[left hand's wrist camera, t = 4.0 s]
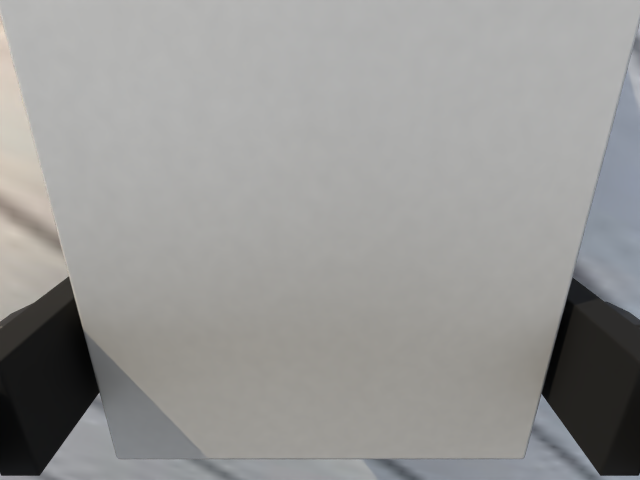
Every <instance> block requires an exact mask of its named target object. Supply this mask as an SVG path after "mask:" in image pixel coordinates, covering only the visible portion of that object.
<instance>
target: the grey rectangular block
mask: <svg viewBox="0 0 640 480" xmlns="http://www.w3.org/2000/svg"><path fill="white" fill-rule="evenodd" d="M0 16H1V19H2V23H3V27H4V31H5V35H6V38H7V42H8V46H9V50H10V54H11V57H12V61H13V65H14V69H15V73H16V76H17V80H18V84H19V88H20V92H21V95H22V99H23V103H24V107H25V111H26V114H27V118H28V122H29V126H30V130H31V133H32V137H33V141H34V145H35V149H36V152H37V156H38V160H39V164H40V168H41V171H42V175H43V179H44V183H45V187H46V190H47V194H48V198H49V202H50V206H51V210H52V213H53V217H54V221H55V225H56V229H57V232H58V236H59V240H60V244H61V248H62V251H63V255H64V259H65V263H66V267H67V270H68V274H69V278H70V282H71V286H72V289H73V293H74V297H75V301H76V305H77V308H78V312H79V316H80V320H81V324H82V327H83V331H84V335H85V339H86V343H87V346H88V350H89V354H90V358H91V362H92V365H93V369H94V373H95V377H96V381H97V384H98V388H99V392H100V396H101V400H102V403H103V407H104V411H105V415H106V419H107V422H108V426H109V430H110V434H111V438H112V441H113V445H114V449H115V453H116V457H117V458H118V459H523V458H524V457H525V454H526V450H527V447H528V443H529V439H530V435H531V432H532V428H533V424H534V420H535V416H536V413H537V409H538V405H539V401H540V398H541V394H542V390H543V386H544V382H545V379H546V375H547V371H548V367H549V363H550V360H551V356H552V352H553V348H554V345H555V341H556V337H557V333H558V329H559V326H560V322H561V318H562V314H563V311H564V307H565V303H566V299H567V296H568V292H569V288H570V284H571V280H572V277H573V273H574V269H575V265H576V262H577V258H578V254H579V250H580V246H581V243H582V239H583V235H584V231H585V227H586V224H587V220H588V216H589V212H590V209H591V205H592V201H593V197H594V193H595V190H596V186H597V182H598V178H599V175H600V171H601V167H602V163H603V160H604V156H605V152H606V148H607V144H608V141H609V137H610V133H611V129H612V126H613V122H614V118H615V114H616V110H617V107H618V103H619V99H620V95H621V91H622V88H623V84H624V80H625V76H626V73H627V69H628V65H629V61H630V57H631V54H632V50H633V46H634V42H635V39H636V35H637V31H638V27H639V23H640V0H0Z"/></svg>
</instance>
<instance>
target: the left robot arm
mask: <svg viewBox="0 0 640 480" xmlns="http://www.w3.org/2000/svg"><path fill="white" fill-rule="evenodd" d="M98 394H99V388H98V384H97V381H96V377H95V373H94V369H93V365H92V362H91V358H90V354H89V350H88V346H87V343H86V339H85V335H84V331H83V327H82V324H81V320H80V316H79V312H78V308H77V305H76V301H75V297H74V293H73V289H72V286H71V282H70V278H69V277H68V278H66V279H65V280H64V281H62V282H61V283H60V284H58V285H57V286H56V287H54V288H53V289H52V290H50V291H49V292H48V293H47V294H45V295H44V296H43V297H41V298H40V299H39V300H37V301H36V302H35V303H33V304H31V305H29V306H27V307H24V308H22V309H20V310H18V311H16V312H14V313H12V314H10V315H9V316H7V317H6V318H5V319H3V320H2V321H1V322H0V474H1V476H40V474H41V473H42V471H43V470H44V469H45V467H46V466H47V464H48V463H49V462H50V460H51V459H52V458H53V456H54V455H55V453H56V452H57V451H58V449H59V448H60V446H61V445H62V444H63V442H64V441H65V439H66V438H67V437H68V435H69V434H70V432H71V431H72V430H73V428H74V427H75V426H76V424H77V423H78V421H79V420H80V419H81V417H82V416H83V414H84V413H85V412H86V410H87V409H88V407H89V406H90V405H91V403H92V402H93V400H94V399H95V398H96V396H97V395H98ZM542 395H543V396H544V398H545V399H546V400H547V402H548V403H549V405H550V406H551V407H552V409H553V410H554V412H555V413H556V414H557V416H558V417H559V419H560V420H561V421H562V423H563V424H564V426H565V427H566V428H567V430H568V431H569V432H570V434H571V435H572V437H573V438H574V439H575V441H576V442H577V444H578V445H579V446H580V448H581V449H582V451H583V452H584V453H585V455H586V456H587V458H588V459H589V460H590V462H591V463H592V464H593V466H594V467H595V469H596V470H597V471H598V473H599V474H600V476H639V473H640V320H639V319H638V318H636V317H635V316H634V315H632V314H631V313H629V312H627V311H625V310H623V309H621V308H619V307H617V306H615V305H613V304H611V303H608V302H604V301H603V300H601V299H600V298H599V297H597V296H596V295H595V294H593V293H592V292H591V291H590V290H588V289H587V288H586V287H584V286H583V285H582V284H580V283H579V282H578V281H576V280H575V279H574V278H572V280H571V284H570V288H569V292H568V296H567V299H566V303H565V307H564V311H563V314H562V318H561V322H560V326H559V329H558V333H557V337H556V341H555V345H554V348H553V352H552V356H551V360H550V363H549V367H548V371H547V375H546V379H545V382H544V386H543V390H542Z"/></svg>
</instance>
